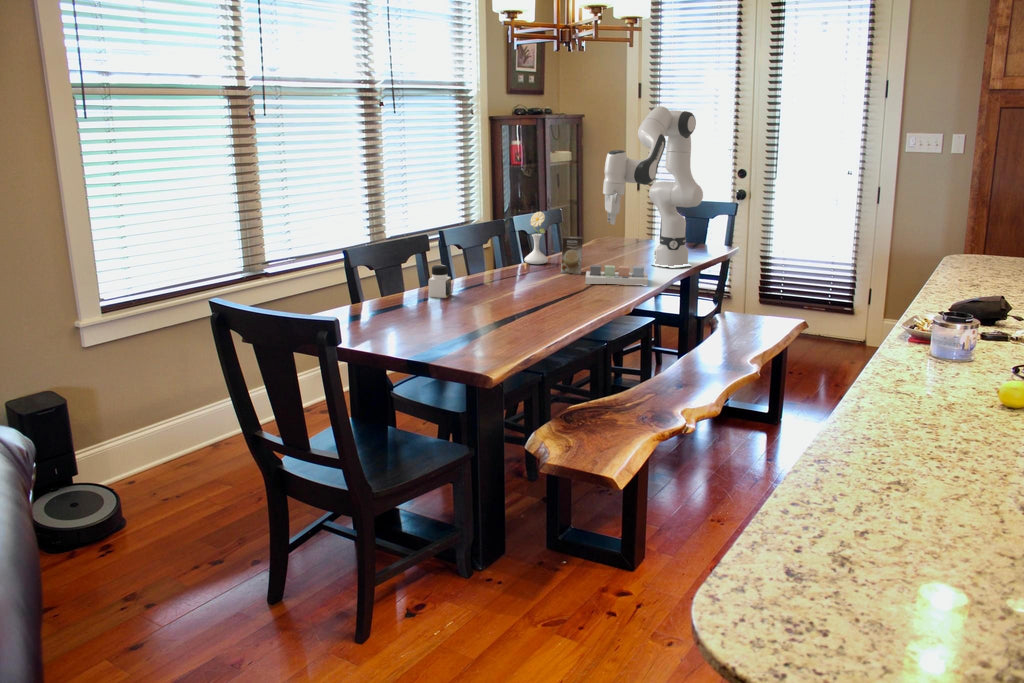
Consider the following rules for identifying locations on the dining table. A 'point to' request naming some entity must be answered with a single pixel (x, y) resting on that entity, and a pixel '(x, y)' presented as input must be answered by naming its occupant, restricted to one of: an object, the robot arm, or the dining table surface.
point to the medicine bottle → (439, 282)
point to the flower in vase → (536, 241)
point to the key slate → (638, 271)
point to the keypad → (616, 279)
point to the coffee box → (571, 254)
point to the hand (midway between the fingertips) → (611, 223)
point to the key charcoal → (595, 270)
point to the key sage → (609, 270)
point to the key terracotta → (623, 271)
